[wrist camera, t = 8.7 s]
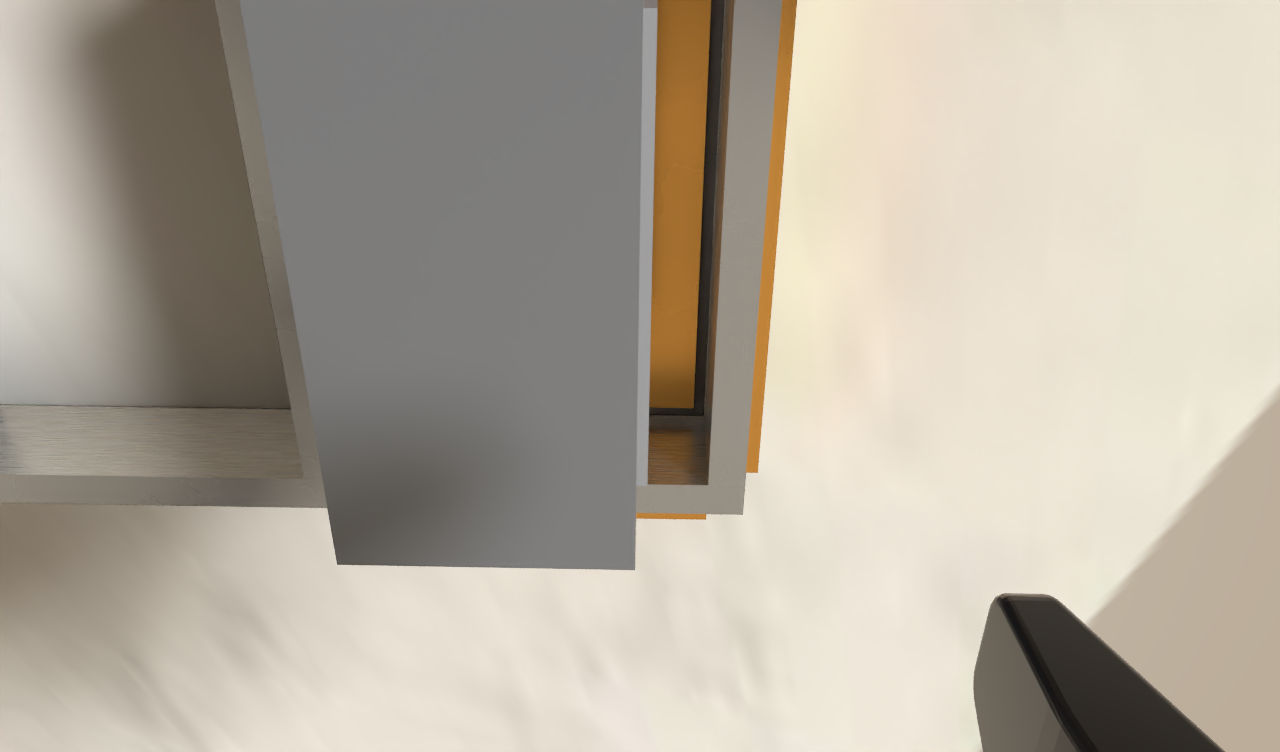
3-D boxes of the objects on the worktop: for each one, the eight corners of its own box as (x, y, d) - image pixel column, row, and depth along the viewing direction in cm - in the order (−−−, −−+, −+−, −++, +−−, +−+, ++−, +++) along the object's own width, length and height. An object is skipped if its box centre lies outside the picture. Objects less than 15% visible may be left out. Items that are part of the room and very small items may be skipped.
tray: (746, 453, 21) (753, 523, 19) (-22, 440, 21) (-83, 510, 19) (800, -269, 14) (820, -259, 13) (-293, -283, 14) (-419, -276, 13)
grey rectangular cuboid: (648, 371, 19) (645, 570, 15) (406, 367, 19) (337, 564, 15) (657, -135, 15) (659, -55, 11) (348, -141, 15) (227, -63, 11)
